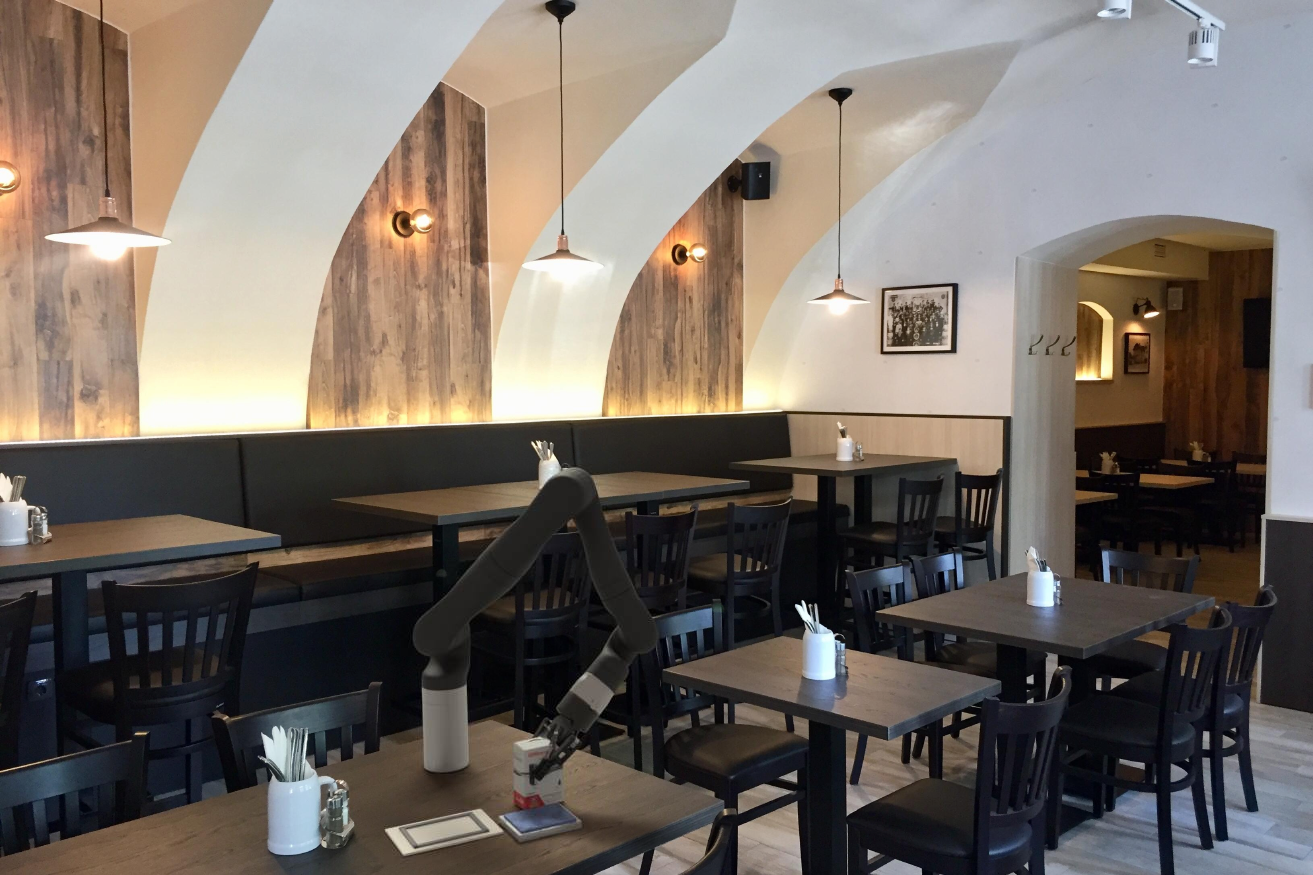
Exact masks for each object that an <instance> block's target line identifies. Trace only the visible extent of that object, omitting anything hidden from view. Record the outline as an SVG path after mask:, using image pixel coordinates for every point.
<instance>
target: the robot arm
mask: <svg viewBox="0 0 1313 875" xmlns="http://www.w3.org/2000/svg"><path fill="white" fill-rule="evenodd" d="M570 521H573V523H574V525H575V527H576V529H577V530H578V534H579V535H580V539H581V541H582V545H583V548H584V553H585V558H586V562H587V567H588V572H589V574H590V575H589V576H590V577H591V580H592V583H593V585H594V588H595V589H596V592H597V594H598V596H599V598H600V600H601V602H602V604H603V607H604V608H605V609H606V610H607V612H609V614H611V615H612V616H613V618H614V619H615V621H616V624H617V626H616V627H615V629H614V630H613V631H612V633H611V634H610V636H609V637H608V639H607V642H605V644H604V647H603V648H602V651H601V652H600V653H599V655H598V656H597V657H596V658H595V660H594V661H593V662H592V663H591V665H590V666H589V667H588V668H587V669H586V671H584V673H583V675H581V676H580V677H579V678H578V679H577V680H576V681H575V683H574V684H573V685H572V687H571V688H570V689H569V691H568V692H567V693H566V694H565V696H564V697H563V698H562V700H561V701H560V702H559V704H558V705H557V706H556V711H557V712H558V715H557V716H556V717H554V719H553V720H551V719H549V718H548V717H544V718H543V719H542V721H541V723H540V725H539V726H538V727H537V729H536V731H535V733H534V734H533V736H532V737H531V739H533V738H537V737H541V738H544V737H546V736H547V738H548V739H549V740H550V743H549V750H548V752H547V754H546V756H545V759H544V758H543V759H542V761H541V762H540V763H539V764H538V766H537V767H536V768H535V770H534V771H533V772H532V776H533V777H534V778H535V779H537V780H538V781H541V780H542V779H543V778H544V776H545V775H546V774H547V772H548V771H549V770H550V769H551V767H552V766H556V765H559V766H562V765H563V766H564V764H565V762H567V761H568V760H569V759H570V758H571V757H572V755H573V754H574V753H576V751H578V749H579V748H580V747H581V746H582V745H583V744H582V741H581V740H580V739H578V735H579V733H580V732H583V733H587V732H588V731H589V730H590V728H591V727H592V725H593V724H594V723H595V722H596V720H597V719H598V718H599V717H600V715H601V714H602V712H603V711H604V710H605V708H607V706H608V704H609V703H610V701H611V699H612V698H613V696H614V694H615V693H616V692H617V690H618V689H619V688H620V687H621V685H622V684H623V683H624V681H625V680H626V678H627V677H628V675H629V672H630V670H629V667H630V665H631V664H632V662H633V661H634V659H635V658H636V656H637V655H638V654H647V653H649V652H651V651H653V650H654V649H655V648H656V646H657V645H658V642H659V630H658V627H657V624H656V621H655V620H654V618H653V616H652V614H651V613H650V611H649V610H648V608H647V606H646V605H645V603H643V601H642V600H641V598H640V597H639V595H638V593H637V591H636V588H635V586H634V584H633V582H632V579H631V577H630V575H629V573H628V572H627V571H628V570H627V569H626V567H625V565H624V563H623V561H622V559H621V558H622V557H621V556H620V554H619V552H618V549H617V547H616V544H615V542H614V539H613V536H612V535H611V531H610V529H609V525H608V522H607V519H606V517H605V513H604V510H603V506H602V503H601V500H600V496H599V492H598V490H597V486H596V483H595V481H594V479H593V477H592V476H591V475H590V473H589V472H587V470H585V469H583V468H580V467H568V468H565V469H563V470H560V471H559V472H557V473H555V474H554V475H551V477H549V478H548V479H547V481H546V482H545V483H544V484H543V485H542V487H541V489H539V491H538V493H537V494H536V496H535V497H534V498H533V499H532V501H531V502H530V503H529V505H528V506H527V507H526V509H525V511H523V513H522V514H521V515H520V516H519V517H518V518H517V519H516V520H515V521H513V523H511V524H510V525H509V526H508V527H506V528H505V529H504V530H503V532H501V533H500V534H499V535H498V536H497V537H496V538H495V539H494V540H493V541H492V542H491V543H490V544H489V545H488V547H486V549H485V550H484V551H483V552H482V553H481V554H480V555H479V556H478V557H477V558H476V560H475V561H474V562H473V564H472V565H470V567H469V568H468V569H467V570H466V571H465V573H463V575H462V576H461V578H459V580H458V581H457V582H456V584H455V585H454V586H453V587H452V588H451V589H450V590H449V592H447V594H446V595H444V597H442V598H441V599H440V600H439V601H438V602H437V603H436V604H435V605H433V606H432V607H431V608H430V609H429V610H427V611H426V612H425V613H424V614H423V615H422V616H421V617H420V618H419V619H418V620H417V621H416V624H415V625H414V628H413V633H412V641H413V644H414V645H413V646H414V647H415V649H416V651H418V652H419V653H420V654H422V655H424V656H426V657H430V660H429V662H428V664H427V666H426V667H425V669H424V670H423V671H422V674H421V694H422V695H421V697H422V698H421V699H422V730H423V731H422V733H423V767H424V769H425V770H426V771H429V772H431V773H432V772H433V773H450V772H455V771H456V772H457V771H459V770H462V769H465V768H466V767H467V766H469V763H470V762H469V761H470V760H469V730H468V729H469V728H468V726H469V725H468V722H469V721H468V695H467V694H468V693H467V678H468V673H469V670H470V666H471V664H470V663H471V626H470V624H469V623H470V621H472V620H473V618H475V617H476V616H477V615H478V614H479V613H481V612H483V611H484V610H485V609H486V608H488V607H489V606H491V605H492V604H494V603H495V602H496V601H497V600H499V599H500V598H501V597H502V596H504V595H505V594H506V593H508V592H509V591H510V590H511V589H513V587H514V586H515V585H516V584H517V583H518V582H519V581H520V580H521V578H522V577H524V575H525V574H526V573H527V572H528V570H529V569H531V567H532V565H533V564H534V563H535V561H536V559H537V558H538V556H539V555H540V553H541V551H542V550H543V548H544V546H545V545H546V544H547V543H548V541H549V540H550V539H551V538H552V537H553V536H554V535H555V534H556V533H557V532H558V531H560V530H561V528H563V527H564V526H566V524H568V523H569V522H570ZM556 745H557V746H558V747H557V746H556ZM553 752H554V753H553ZM561 756H563V757H562V758H560V757H561Z"/></svg>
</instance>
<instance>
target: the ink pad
mask: <svg viewBox="0 0 1313 875" xmlns="http://www.w3.org/2000/svg"><path fill="white" fill-rule="evenodd" d="M498 823H499V825H501V826H502V827H503V828H504V830H506V831H507V832H508V833H509V834H510V835H511V836H512V837H513V838H514V839H515V840H516V841H517V842H518V843H523V842H527V841H532V840H537V839H540V838H544V837H550V836H553V835H558V834H561V833H567V832H570V831H574V830H579V829H582V828H583V826H582V825H583V824H582V820H581V819H579V817H577V816H576V815H575V814H573V813H572V812H571V811H570V810H569V809H567V807H565V806H564V805H563V804H561V802H558V803H554V804H549V805H545V806H540V807H536V808H531V809H526V810H523V809H522V810H519V811H514V812H509V813H506V814H503V815H498Z"/></svg>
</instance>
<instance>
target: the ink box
mask: <svg viewBox="0 0 1313 875" xmlns="http://www.w3.org/2000/svg"><path fill="white" fill-rule="evenodd" d="M549 743H550V740H549V739H548V738H547V736H546V737H544V738H541V737H537V738H533V739H532V738H529V739H524V740H519V741H516V742H514V743H513V803H514V804H515V805H516V806H518V807H519V808H521V809H522V810H526V809H531V808H536V807H540V806H545V805H549V804H554V803H562V802H564V800H565V796H564V795H565V793H564V764H563V765H562V766H559V765H556V766H552V767H551V769H550V770H549V771H548V772H547V774H546V775H545V776H544V778H543V779H542V780H541V781H538V780H537V779H535V778H534V777H533V776H532V772H533V771H534V770H535V768H536V767H537V766H538V764H539V763H540V762H541V761H542V759H543V758H544V759H545V756H546V754H547V752H548V750H549ZM556 746H557V745H556ZM557 747H558V746H557ZM553 753H554V752H553ZM563 756H564V755H563ZM563 756H561V757H560V758H562V757H563Z"/></svg>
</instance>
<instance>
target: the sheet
mask: <svg viewBox="0 0 1313 875" xmlns="http://www.w3.org/2000/svg"><path fill="white" fill-rule="evenodd" d="M384 832H385V834H386V835H387V837H388V838H389V839H390V840H391V841H392V843H393V845H395V847H396V848H397V849H398V851H399V852H400V854H401V855H402V857H408V856H411V855H416V854H420V853H425V852H429V851H433V850H438V849H442V848H446V847H451V846H456V845H460V844H464V843H468V842H472V841H477V840H482V839H485V838H486V839H487V838H491V837H495V836H499V835H502V834H503V835H504V834H505V833H504V830H503V829H502V828H501V827H500V826H499V825H498V824H497V823H496V822H495V821H494V820H493V819H492V818H490V816H489V815H488V814H487V813H486V812H485V811H484V810H483V809H482V808H477V809H473V810H468V811H464V812H459V813H455V814H449V815H445V816H441V817H435V818H431V819H426V820H423V821H417V822H413V823H407V824H403V825H399V826H393V827H389V828H385V829H384Z"/></svg>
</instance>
